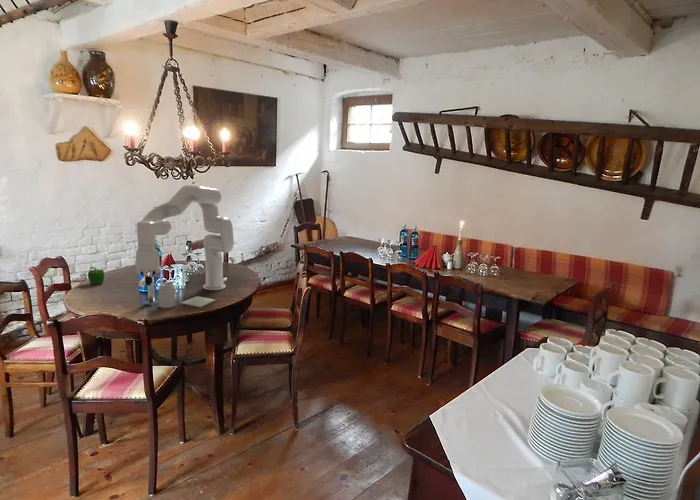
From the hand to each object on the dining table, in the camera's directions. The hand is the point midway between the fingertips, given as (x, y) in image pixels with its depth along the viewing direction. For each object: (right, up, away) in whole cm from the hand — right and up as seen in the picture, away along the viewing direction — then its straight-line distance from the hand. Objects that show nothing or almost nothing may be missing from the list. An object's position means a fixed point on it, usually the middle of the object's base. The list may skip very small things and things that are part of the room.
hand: (148, 284), depth 215 cm
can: (+3, -12, +14) cm, 19 cm away
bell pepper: (-50, -3, +45) cm, 67 cm away
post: (-6, -11, +17) cm, 21 cm away
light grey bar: (-4, +1, +6) cm, 8 cm away
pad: (+16, -11, +22) cm, 30 cm away
